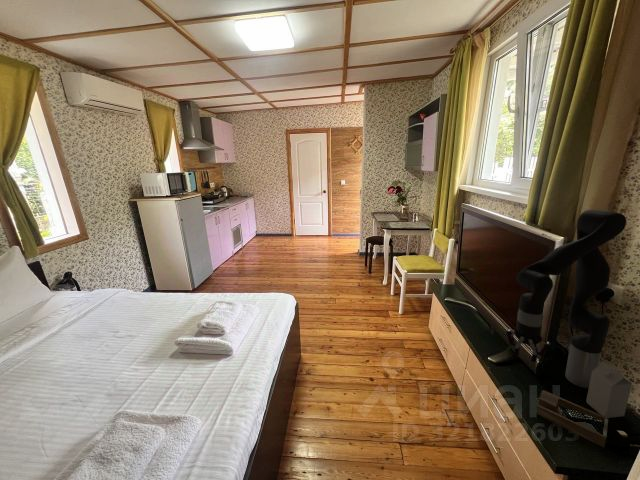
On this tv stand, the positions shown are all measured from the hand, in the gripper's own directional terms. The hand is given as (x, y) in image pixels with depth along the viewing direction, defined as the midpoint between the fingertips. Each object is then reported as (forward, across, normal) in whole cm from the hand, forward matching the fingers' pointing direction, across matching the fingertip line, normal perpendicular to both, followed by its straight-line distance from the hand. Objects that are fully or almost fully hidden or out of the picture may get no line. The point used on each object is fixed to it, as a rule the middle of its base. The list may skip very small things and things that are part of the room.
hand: (525, 358), depth 104 cm
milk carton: (+19, -23, -14) cm, 33 cm away
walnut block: (+18, -8, 0) cm, 20 cm away
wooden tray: (+19, -15, 0) cm, 24 cm away
